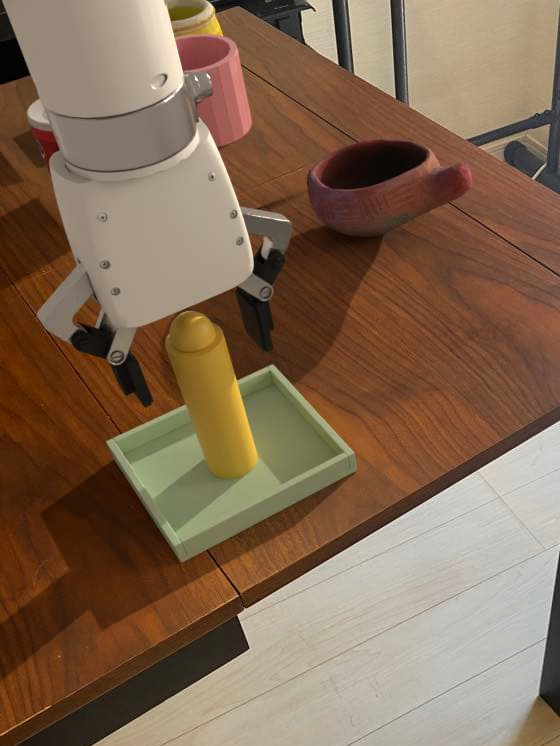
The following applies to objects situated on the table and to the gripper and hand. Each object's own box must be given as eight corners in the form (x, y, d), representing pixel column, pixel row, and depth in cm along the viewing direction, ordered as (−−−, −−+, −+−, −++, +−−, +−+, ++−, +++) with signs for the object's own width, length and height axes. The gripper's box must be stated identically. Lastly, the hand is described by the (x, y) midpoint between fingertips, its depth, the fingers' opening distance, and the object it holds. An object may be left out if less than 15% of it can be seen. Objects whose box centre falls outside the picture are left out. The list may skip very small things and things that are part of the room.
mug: (249, 71, 112) (229, -33, 102) (183, 102, 107) (156, -4, 98) (191, 48, 118) (167, -52, 108) (126, 76, 113) (96, -26, 104)
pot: (188, 163, 97) (166, 82, 90) (151, 130, 103) (128, 51, 96) (268, 134, 101) (253, 54, 94) (228, 103, 106) (211, 25, 99)
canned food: (96, 184, 96) (59, 84, 87) (152, 197, 93) (120, 95, 85) (51, 219, 92) (8, 117, 83) (108, 233, 89) (70, 130, 80)
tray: (181, 563, 61) (173, 546, 59) (113, 458, 68) (105, 441, 66) (357, 470, 66) (354, 452, 64) (277, 381, 73) (272, 363, 71)
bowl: (312, 265, 83) (299, 189, 77) (315, 197, 91) (303, 123, 85) (473, 253, 83) (474, 175, 77) (462, 185, 91) (462, 110, 85)
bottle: (221, 487, 65) (171, 342, 54) (199, 457, 67) (147, 312, 56) (266, 464, 66) (227, 318, 55) (243, 435, 68) (200, 290, 57)
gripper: (234, 53, 50) (283, 296, 64) (-54, 146, 45) (66, 390, 58) (296, 96, 46) (334, 346, 60) (-13, 205, 41) (106, 452, 54)
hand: (201, 367), depth 59 cm, fingers open, 8 cm apart
